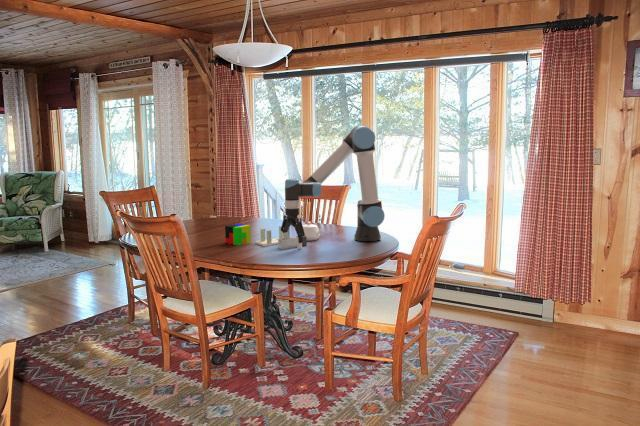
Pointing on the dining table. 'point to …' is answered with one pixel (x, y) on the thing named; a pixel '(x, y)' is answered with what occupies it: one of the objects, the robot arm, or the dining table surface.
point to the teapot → (311, 231)
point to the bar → (290, 242)
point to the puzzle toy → (238, 234)
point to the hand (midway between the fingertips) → (292, 246)
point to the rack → (269, 240)
